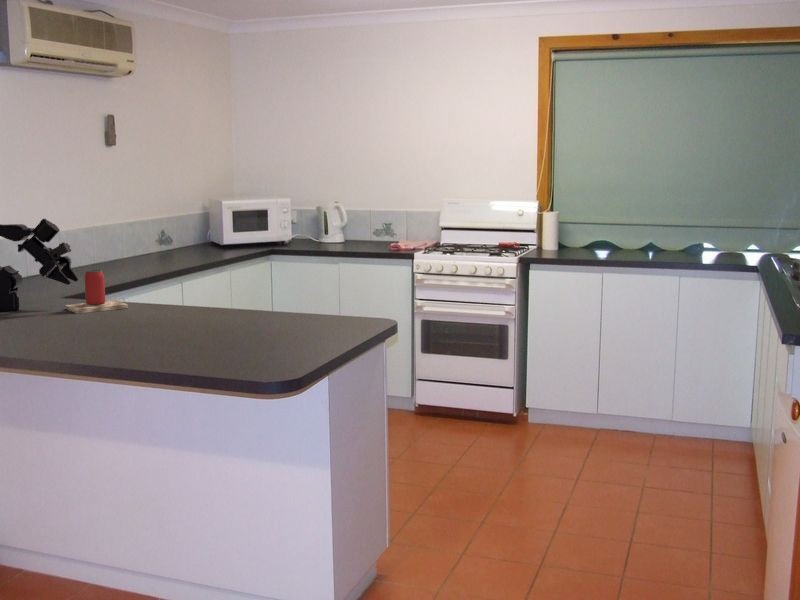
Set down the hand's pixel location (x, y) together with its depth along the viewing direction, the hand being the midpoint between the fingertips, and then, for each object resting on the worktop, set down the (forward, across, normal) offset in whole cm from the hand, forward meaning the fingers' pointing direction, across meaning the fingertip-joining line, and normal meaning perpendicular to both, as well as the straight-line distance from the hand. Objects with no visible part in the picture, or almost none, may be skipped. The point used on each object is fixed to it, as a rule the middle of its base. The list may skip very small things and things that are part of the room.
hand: (73, 282), depth 301 cm
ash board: (+12, 0, +2) cm, 12 cm away
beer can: (+11, 0, +1) cm, 11 cm away
